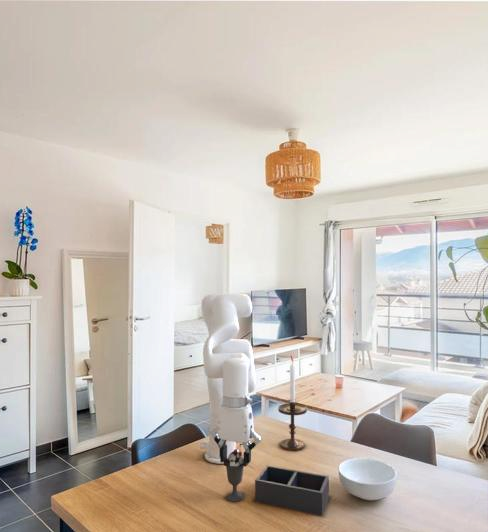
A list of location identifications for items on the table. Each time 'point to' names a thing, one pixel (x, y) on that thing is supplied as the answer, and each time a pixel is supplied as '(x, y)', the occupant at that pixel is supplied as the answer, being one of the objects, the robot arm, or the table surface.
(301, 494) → the caddy
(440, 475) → the table surface
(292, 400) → the candlestick
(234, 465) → the sundae
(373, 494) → the cereal bowl
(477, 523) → the table surface
